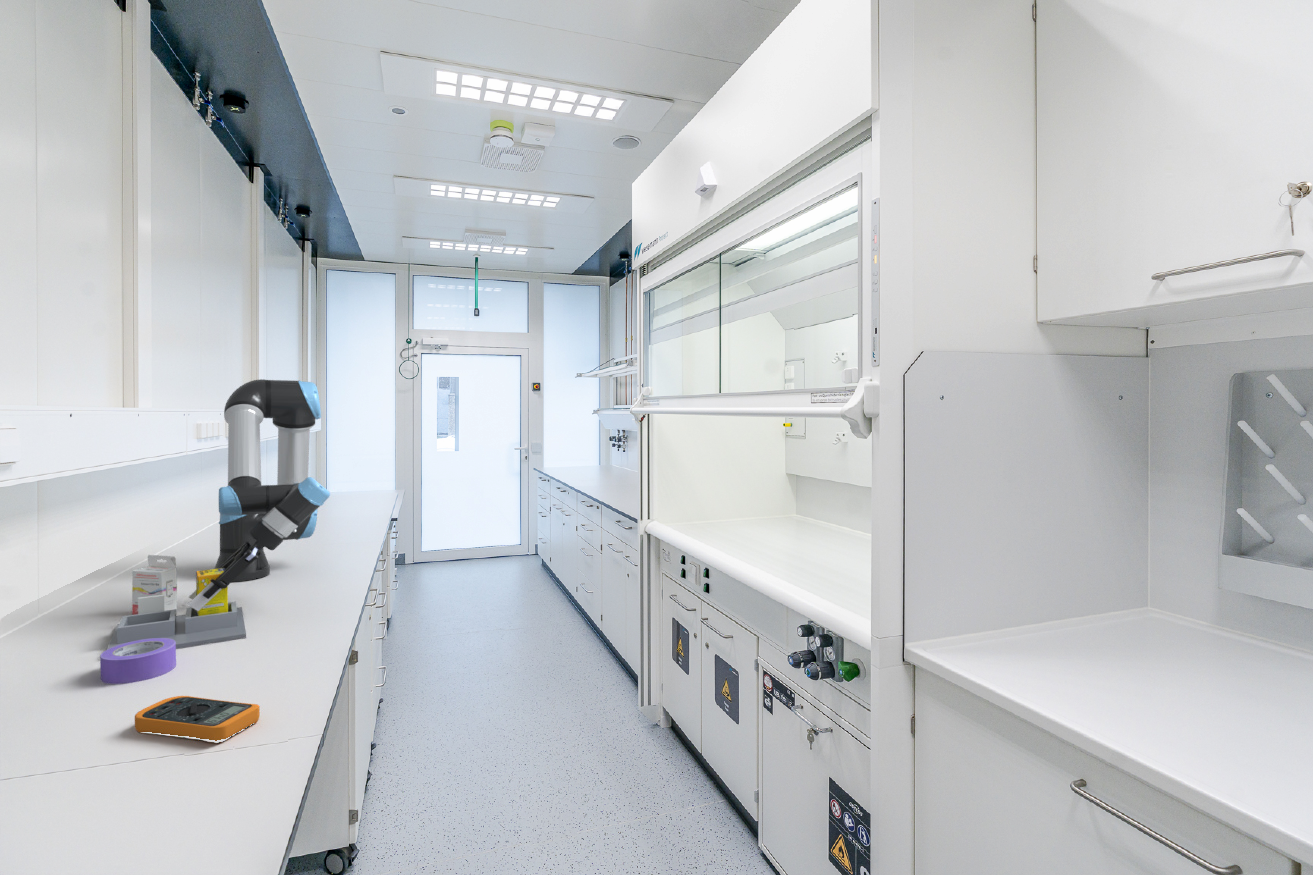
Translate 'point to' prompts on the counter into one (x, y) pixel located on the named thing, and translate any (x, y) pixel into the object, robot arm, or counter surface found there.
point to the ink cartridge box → (156, 581)
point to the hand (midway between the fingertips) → (193, 603)
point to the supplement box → (220, 599)
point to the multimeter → (197, 717)
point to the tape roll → (138, 660)
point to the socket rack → (178, 625)
